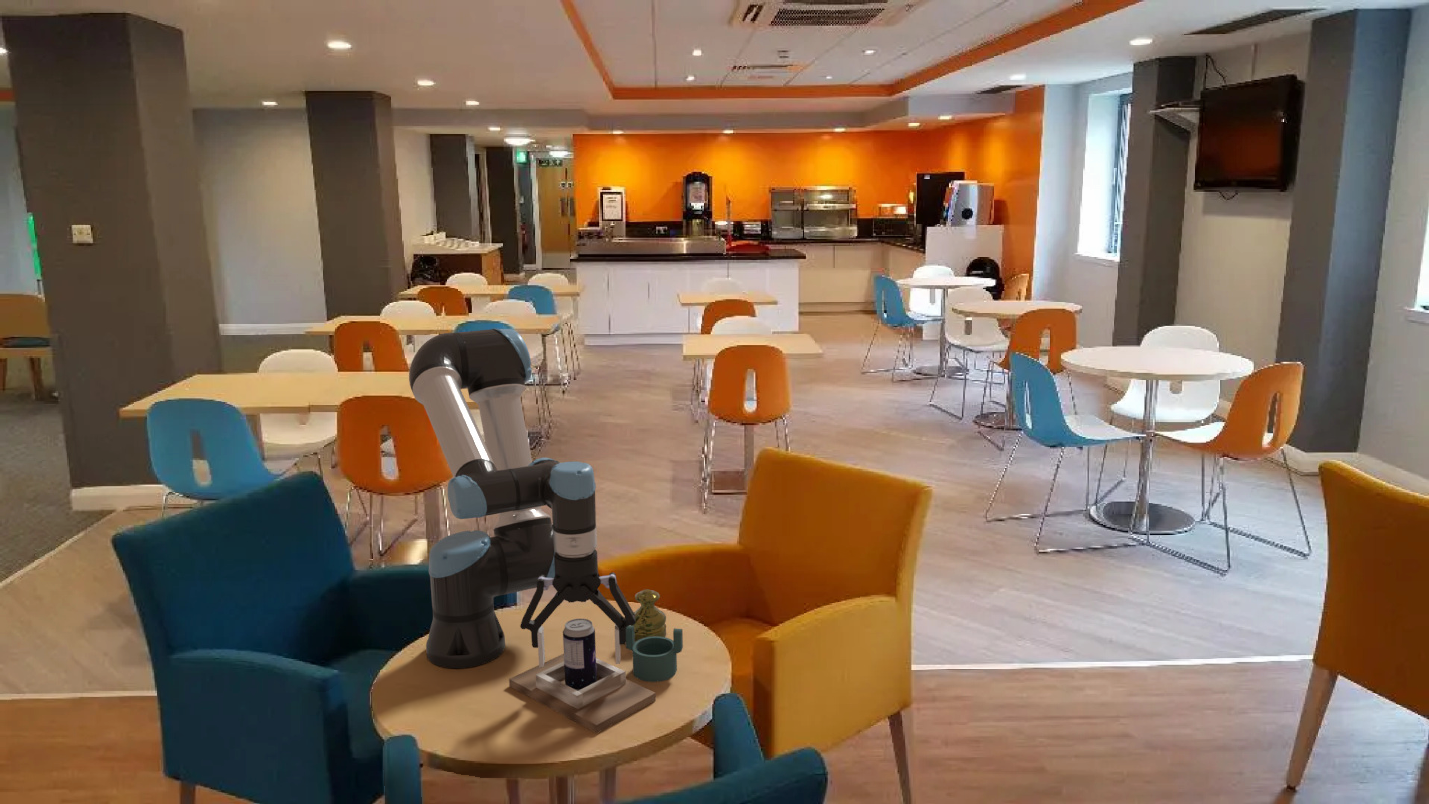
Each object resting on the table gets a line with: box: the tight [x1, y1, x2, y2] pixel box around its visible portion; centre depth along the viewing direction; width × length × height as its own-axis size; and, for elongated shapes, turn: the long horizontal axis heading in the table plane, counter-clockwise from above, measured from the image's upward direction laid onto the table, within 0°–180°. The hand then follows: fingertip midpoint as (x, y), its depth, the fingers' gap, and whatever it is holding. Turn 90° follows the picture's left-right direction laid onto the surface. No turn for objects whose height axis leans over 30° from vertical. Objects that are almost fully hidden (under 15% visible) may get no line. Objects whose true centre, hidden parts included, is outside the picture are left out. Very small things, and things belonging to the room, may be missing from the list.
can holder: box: [508, 653, 657, 734], centre depth 175 cm, size 24×14×4 cm, turn 49°
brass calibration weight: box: [633, 588, 667, 642], centre depth 197 cm, size 7×7×10 cm
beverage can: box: [562, 618, 597, 691], centre depth 174 cm, size 6×6×12 cm
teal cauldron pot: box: [625, 625, 684, 683], centre depth 183 cm, size 9×9×9 cm
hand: (580, 661), depth 174 cm, fingers open, 13 cm apart
